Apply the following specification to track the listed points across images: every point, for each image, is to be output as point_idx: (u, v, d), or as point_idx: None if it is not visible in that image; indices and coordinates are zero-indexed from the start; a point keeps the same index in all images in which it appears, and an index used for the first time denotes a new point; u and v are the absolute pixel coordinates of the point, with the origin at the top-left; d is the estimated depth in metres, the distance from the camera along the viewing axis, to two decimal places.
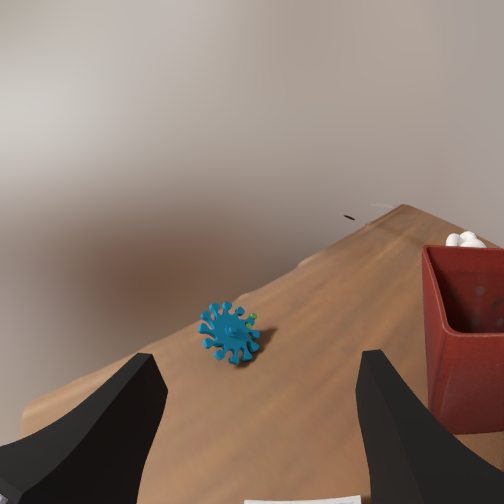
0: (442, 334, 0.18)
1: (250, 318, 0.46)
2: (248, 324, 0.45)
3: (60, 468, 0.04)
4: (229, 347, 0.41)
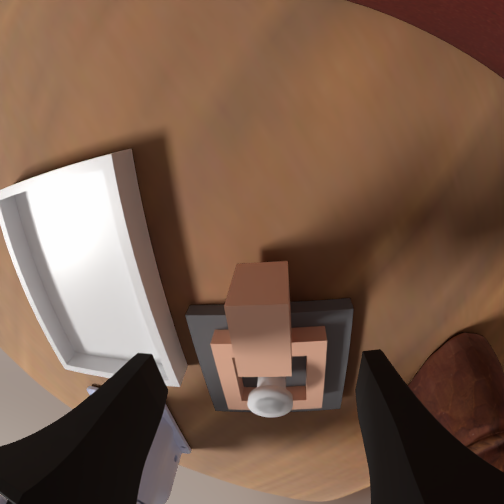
0: None
1: None
2: None
3: (60, 468, 0.04)
4: None
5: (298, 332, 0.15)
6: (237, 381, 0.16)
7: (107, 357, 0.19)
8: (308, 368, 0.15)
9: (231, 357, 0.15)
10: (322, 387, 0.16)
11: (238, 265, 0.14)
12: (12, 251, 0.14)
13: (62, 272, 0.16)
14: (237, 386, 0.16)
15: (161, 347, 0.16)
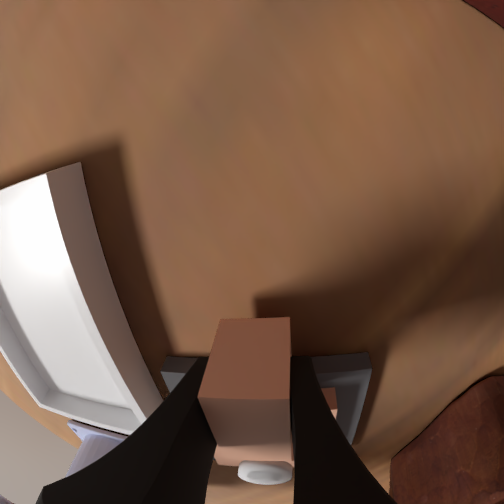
0: None
1: None
2: None
3: (146, 499, 0.04)
4: None
5: None
6: None
7: (82, 399, 0.15)
8: None
9: None
10: None
11: (222, 322, 0.10)
12: None
13: (22, 307, 0.12)
14: None
15: (134, 404, 0.12)
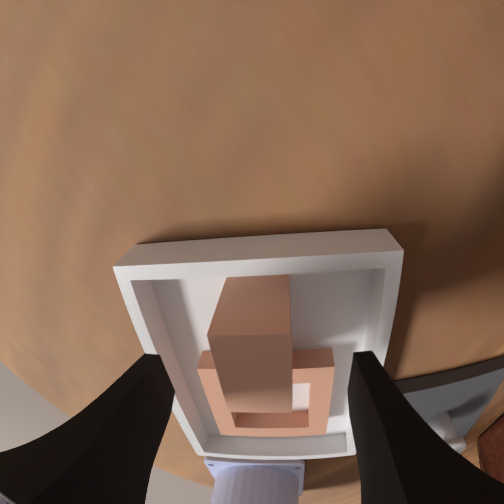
0: None
1: None
2: None
3: (69, 472, 0.04)
4: None
5: (301, 355, 0.13)
6: None
7: (258, 437, 0.17)
8: (311, 396, 0.13)
9: None
10: (326, 415, 0.13)
11: (228, 278, 0.11)
12: (152, 349, 0.12)
13: None
14: (230, 413, 0.14)
15: None
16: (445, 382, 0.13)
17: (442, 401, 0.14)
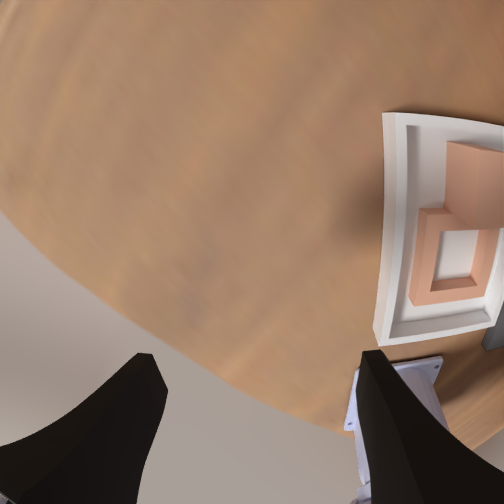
0: None
1: None
2: None
3: (60, 468, 0.04)
4: None
5: None
6: (434, 264, 0.15)
7: (425, 319, 0.18)
8: (487, 244, 0.14)
9: (439, 231, 0.14)
10: (490, 268, 0.15)
11: None
12: (404, 192, 0.14)
13: None
14: (433, 270, 0.15)
15: None
16: None
17: None
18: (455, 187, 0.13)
